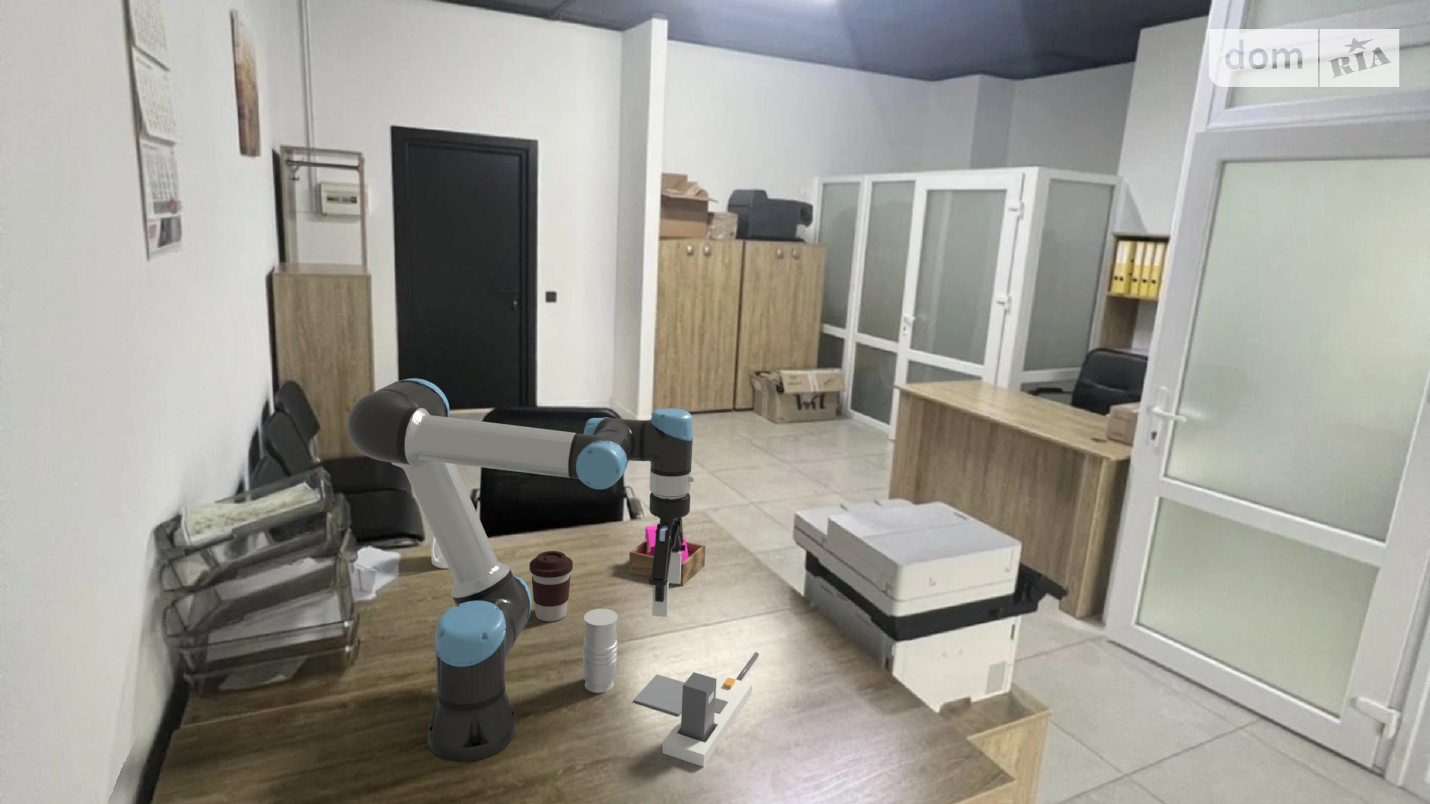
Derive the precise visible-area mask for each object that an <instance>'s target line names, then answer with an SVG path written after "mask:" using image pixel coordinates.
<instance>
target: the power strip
mask: <svg viewBox="0 0 1430 804" xmlns="http://www.w3.org/2000/svg"><path fill="white" fill-rule="evenodd" d="M759 656H760V654H759V652H757V651H755V652H754V653H753V655H752V656H751V657H750V659H749V660H748V661H747V663H746V665H745V666H744V667H743V668H742V670H741V671H740V673H739V674H738V675H737V677H736V678H733V677H729V676H726V675H723V674H720V673H719V674H718V673H715V674H714V675H713V676H712V678H716V679H717V681H716V699H715V716H714V731H713V733H712V734H711V736H710V737H709V738H708V740H707V741H706V743H705V742H702V741H699V740H696V739H693V738H690V737H687V736H684V735H681V718H680V719H679V720H678V721H677V723H676V724H675V725H674V727H672V729H671V731H670V732H669V733H668V735H667V736H666V737H665V738H664V739H663V741H662V754H664V755H666V756H667V755H668V756H670V757H672V758H674V759H675V758H676V759H679V760H682V761H685V762H687V763H691V764H693V765H697V766H699V767H701V768H702V767H703V768H704V767H705V765H706V764H707V762H708V761H709V759H710V758H711V756H712V755H713V753H714V752H715V751H716V749H717V748H718V746H719V744H721V741H722V740H723V738H724V737H725V736H726V734H727V732H728V731H729V729H730V728H731V727H732V725H733V723H734V722H735V720H736V719H737V717H738V716H739V714H740V713H741V711H742V710H741V709H743V708H744V706H745V705H746V704H747V701H748V700H749V698H750V697H751V696H752V691H753V683H750V682H747V681H743V680H742V679H743V678H744V677H745V675H746V674H747V672H748V671H749V670H750V668H751V667H752V665H754V662H756V660H757V659H758V657H759ZM739 712H740V713H739ZM737 715H738V716H737Z"/></svg>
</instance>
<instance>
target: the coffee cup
mask: <svg viewBox="0 0 1430 804" xmlns="http://www.w3.org/2000/svg"><path fill="white" fill-rule="evenodd" d="M573 563H574V562H573V560H572V558H570V557H568V556H567V555H566V554H565V553H564V552H561V551H558V550H548V551H543V552H540V553H538V554H537V556H535V557H534V558H533V559H531V561H530V562H529V572H530V573H531V574H532V576H531V584H532V585H531V586H532V588H531V589H532V601H533V603H534V613H535V617H536V618H537V620H540V621H542V622H550V623H551V622H556V621H559V620H562V619H564V617H566V615H567V611H568V600H569V598H570V586H571V574H570V573H571V572H572V570H573V565H574V564H573Z"/></svg>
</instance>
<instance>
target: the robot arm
mask: <svg viewBox="0 0 1430 804" xmlns="http://www.w3.org/2000/svg"><path fill="white" fill-rule="evenodd" d="M348 413H349V414H348V417H347V421H346V429H347V430H346V431H347V435H348V437H349V439H350V441H351V444H352V445H353V446H354V447H355V448H356V450H357V451H359V452H360V453H361V454H363V455H365V456H366V457H369V458H371V459H373V460H377V461H380V462H381V461H382V462H386V463H387V462H388V463H391V465H393V466H397V467H400V468H401V469H403V470H404V473H405V475H406V477H407V479H408V482H409V483H410V486H411V488H412V490H413V492H414V494H415V496H416V499H417V501H418V503H419V505H420V507H421V510H422V512H423V514H424V516H425V518H426V519H425V520H426V521H427V523H428V525H429V528H431V530H432V532H433V534H434V537H435V539H436V541H437V543H438V545H439V548H440V550H441V552H442V554H443V556H444V559H445V561H446V563H447V565H448V567H449V569H448V570H449V571H450V574H451V576H452V579H453V581H454V584H453V587H452V589H451V592H450V595H451V597H452V599H453V602H454V603H455V606H453V607H451V608H449V609H448V610H446V611H445V612H444V613H443V614H442V615H441V616H440V617H439V619H438V621H437V623H436V628H435V635H434V640H433V641H434V649H435V672H436V694H437V695H436V697H437V698H436V702H435V705H434V708H433V712H432V714H431V718H430V721H429V722H428V727H427V744H428V748H429V749H430V751H432V752H433V754H435V755H436V756H437V757H439V758H441V759H444V760H447V761H452V762H473V761H478V760H482V759H485V758H489V757H491V756H493V755H495V754H496V753H499V752H500V751H502V750H503V749H504V748H505V747H507V746H509V744H510V743H511V741H512V740H513V738H514V737H515V734H516V726H517V725H516V714H515V712H514V710H513V708H512V706H511V702H510V699H509V697H508V694H507V691H506V659H507V657H508V654H509V653H510V651H511V649H512V648H513V646H514V644H515V642H516V640H517V639H518V637H519V635H520V634H521V632H522V631H523V630H524V628H525V627H526V625H527V623H528V621H529V618H530V614H531V611H532V607H533V596H532V594H531V591H530V588H529V586H528V585H527V583H526V582H525V581H524V580H523V579H522V578H521V577H520V576H516V575H515V574H514V573H513V572H512V569H511V568H510V566H509V565H508V564H505V563H502V562H499V560H498V558H497V556H496V554H495V551H494V550H493V547H492V545H491V543H490V541H489V537H488V536H487V534H486V533H487V532H486V531H485V529H484V527H483V524H482V522H481V520H480V518H479V515H478V513H477V511H476V508H475V505H474V503H473V501H472V498H471V497H470V494H469V492H468V489H467V488H466V486H465V483H464V481H463V479H462V477H461V474H460V472H459V470H458V467H457V465H461V466H468V467H469V466H470V467H478V468H486V469H493V470H495V469H496V470H503V471H511V472H521V473H527V474H528V473H529V474H535V475H536V474H537V475H543V476H552V477H562V478H568V479H570V478H571V479H577V480H580V481H581V483H582V484H584V485H585V486H587V487H589V488H590V489H593V490H606V489H609V488H610V487H612V486H613V485H616V483H617V482H618V481H619V480H620V479H621V478H622V477H623V476H624V474H625V472H626V469H627V467H628V464H629V462H633V461H634V462H650V469H649V491H650V494H649V507H648V508H649V509H648V510H649V512H650V514H651V515H652V516H654V517H657V518H658V519H659V523H656V524H657V525H656V526H657V529H656V531H655V533H656V538H655V549H654V558H653V567H652V576H651V578H649V579H648V584H650V585H651V586H652V616H653V617H665V618H667V617H668V613H669V611H668V610H669V586H670V585H669V584H673V583H675V584H674V585H677V584H680V578H681V552H679V550H680V551H685V545H682V544H683V542H684V540H683V536H684V532H683V531H684V530H683V529H684V528H683V518H684V517H686V516H688V515H689V513H690V511H691V494H690V492H691V484H692V483H694V481H695V478H694V476H691V474H692V461H693V459H692V457H693V443H694V441H693V440H694V439H693V437H694V434H693V433H694V432H693V417H692V415H691V413H690V412H688V411H686V410H684V409H681V408H674V407H673V408H672V407H671V408H669V407H668V408H658V409H656V410H654V411H652V413H651V417H650V419H647V420H645V419H644V420H643V419H628V418H627V419H626V418H611V417H609V416H608V417H592V418H589V419H588V420H587V421H586V423H585V427H584V430H583V433H577V432H570V431H561V430H555V429H547V428H539V427H538V428H537V427H531V426H530V427H529V426H520V425H513V424H507V423H505V424H503V423H497V422H489V421H488V422H487V421H480V420H473V419H464V418H456V417H449V415H450V405H449V401H448V399H447V397H446V395H445V393H444V392H443V391H442V390H441V389H440V387H438V386H437V385H436V384H434V383H432V382H430V381H428V380H425V379H422V378H414V377H413V378H406V379H401V380H398V381H394V382H392V383H390V384H388V385H386V386H384V387H382V388H380V389H378V390H375V391H372V392H370V393H368V394H365V395H364V396H362V397H361V398H360V399H358V400H357V401H356V402H355V404H354V405H352V407H351V409H350V411H349V412H348ZM431 530H430V531H431Z"/></svg>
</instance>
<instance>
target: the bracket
mask: <svg viewBox="0 0 1430 804" xmlns="http://www.w3.org/2000/svg"><path fill="white" fill-rule="evenodd" d="M644 529H645V530H644V531H645V533H644V539H645V541H646V540H647V542H648V544H649V546H650V547H651V552H647V553H646V555H650V556H654V549H655V538H656V533H655V531H656V529H657V525H649V526H648V525H647V526H645V528H644ZM683 540H684V542H683V544H682V545H685V551H680V550H679V552H681V563H683V562H684V561H685V560H686V559H688V558H689V556H688V550H687V544H686V542H687V540H686V538H685V537H684V535H683Z"/></svg>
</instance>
